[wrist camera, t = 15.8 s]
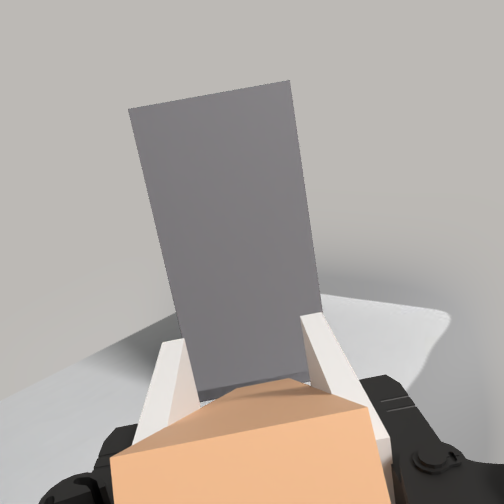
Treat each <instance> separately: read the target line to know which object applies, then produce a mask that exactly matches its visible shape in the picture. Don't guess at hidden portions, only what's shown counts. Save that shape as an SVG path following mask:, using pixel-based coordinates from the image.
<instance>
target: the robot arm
mask: <svg viewBox="0 0 504 504" xmlns="http://www.w3.org/2000/svg"><path fill="white" fill-rule="evenodd" d="M300 320H301V326H302V332H303V338H304V345H305V351H306V357H307V363H308V369H309V376H310V382H311V387H314V388H317V389H319V390H322V391H325V392H327V393H330V394H334V395H336V396H339V397H342V398H344V399H347V400H350V401H352V402H355V403H358V404H361V405H363V406H366V407H368V410H369V414H370V418H371V422H372V427H373V431H374V435H375V439H376V443H377V447H378V451H379V456H380V460H381V464H382V468H383V472H384V476H385V480H386V485H387V489H388V493H389V497H390V501H391V504H504V464H491V463H490V464H489V463H481V462H474V461H471V460H468V459H466V458H465V457H464V455H463V454H462V453H461V452H460V451H459V450H458V449H456V448H455V447H453V446H451V445H449V444H446V443H443V442H441V441H440V439H439V438H438V436H437V435H436V434H435V432H434V431H433V429H432V428H431V427H430V425H429V424H428V422H427V421H426V420H425V418H424V417H423V415H422V414H421V412H420V411H419V409H418V408H417V407H415V404H414V402H413V401H412V399H411V398H410V397H409V396H408V394H407V392H406V391H405V390H404V388H403V387H402V385H401V384H400V383H399V382H397V381H396V380H394V379H392V378H391V377H389V376H387V375H381V376H376V377H371V378H366V379H361V380H358V378H357V376H356V374H355V372H354V370H353V369H352V367H351V365H350V363H349V361H348V359H347V358H346V356H345V354H344V352H343V350H342V348H341V346H340V345H339V343H338V341H337V339H336V337H335V335H334V334H333V332H332V330H331V328H330V326H329V324H328V323H327V321H326V319H325V317H324V315H323V313H322V312H319V313H314V314H308V315H303V316H300ZM200 408H201V406H200V402H199V398H198V393H197V389H196V385H195V381H194V377H193V372H192V368H191V364H190V360H189V356H188V351H187V347H186V343H185V339H184V338H182V339H177V340H171V341H166V342H162V345H161V348H160V352H159V355H158V359H157V362H156V365H155V369H154V372H153V376H152V379H151V382H150V386H149V389H148V392H147V396H146V399H145V403H144V406H143V409H142V413H141V416H140V420H139V423H138V424H133V425H128V426H123V427H118V428H115V430H114V431H113V432H112V433H111V434H110V435H109V436H108V438H107V439H106V440H105V441H104V443H103V445H102V448H101V450H100V453H99V458H98V459H97V461H96V463H95V466H94V471H92V473H88V472H87V473H82V474H77V475H73V476H71V477H69V478H67V479H64V480H62V481H61V482H59V483H58V484H57V485H55V486H54V487H52V488H51V489H50V490H49V491H48V492H47V493H46V494H45V495H44V496H43V497H42V498H41V500H40V502H39V504H114V496H113V486H112V476H111V465H110V457H112V456H114V455H116V454H117V453H119V452H121V451H123V450H125V449H127V448H128V447H130V446H132V445H134V444H136V443H138V442H139V441H141V440H143V439H145V438H147V437H149V436H150V435H152V434H154V433H156V432H158V431H160V430H161V429H163V428H165V427H167V426H169V425H171V424H173V423H175V422H177V421H178V420H180V419H182V418H184V417H186V416H187V415H189V414H191V413H193V412H195V411H196V410H198V409H200Z"/></svg>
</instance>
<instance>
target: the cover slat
mask: <svg viewBox="0 0 504 504" xmlns="http://www.w3.org/2000/svg"><path fill="white" fill-rule="evenodd" d="M110 465H111V476H112V486H113V496H114V504H391V501H390V497H389V493H388V489H387V485H386V480H385V476H384V472H383V468H382V464H381V460H380V456H379V451H378V447H377V443H376V439H375V435H374V431H373V427H372V422H371V418H370V414H369V410H368V407H366V406H363V405H361V404H358V403H355V402H352V401H350V400H347V399H344V398H342V397H339V396H336V395H334V394H330V393H327V392H325V391H322V390H319V389H317V388H314V387H311V386H309V385H306V384H304V383H301V382H298V381H296V380H293V379H290V378H287V379H282V380H276V381H271V382H266V383H261V384H256V385H251V386H246V387H240V388H236V389H234V390H233V391H231V392H229V393H227V394H225V395H224V396H222V397H220V398H218V399H216V400H214V401H213V402H211V403H209V404H207V405H205V406H203V407H202V408H200V409H198V410H196V411H195V412H193V413H191V414H189V415H187V416H186V417H184V418H182V419H180V420H178V421H177V422H175V423H173V424H171V425H169V426H167V427H165V428H163V429H161V430H160V431H158V432H156V433H154V434H152V435H150V436H149V437H147V438H145V439H143V440H141V441H139V442H138V443H136V444H134V445H132V446H130V447H128V448H127V449H125V450H123V451H121V452H119V453H117V454H116V455H114V456H112V457H110Z"/></svg>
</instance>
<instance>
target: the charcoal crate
mask: <svg viewBox="0 0 504 504" xmlns="http://www.w3.org/2000/svg"><path fill="white" fill-rule="evenodd" d="M128 111H129V115H130V120H131V124H132V128H133V132H134V137H135V140H136V145H137V149H138V153H139V157H140V162H141V166H142V170H143V174H144V179H145V183H146V187H147V191H148V195H149V199H150V204H151V208H152V212H153V216H154V221H155V225H156V229H157V233H158V238H159V242H160V246H161V250H162V255H163V259H164V263H165V267H166V271H167V276H168V280H169V284H170V288H171V293H172V296H173V301H174V305H175V309H176V314H177V318H178V322H179V326H180V331H181V335H182V338H184V339H185V343H186V347H187V351H188V356H189V360H190V364H191V368H192V372H193V377H194V381H195V385H196V389H197V393H198V398H199V402H202V401H207V400H212V399H218V398H220V397H222V396H224V395H225V394H227V393H229V392H231V391H233V390H234V389H236V388H240V387H246V386H251V385H256V384H261V383H266V382H271V381H276V380H282V379H287V378H290V379H293V380H296V381H298V382H301V383H302V382H308V381H310V376H309V369H308V363H307V357H306V351H305V345H304V338H303V332H302V326H301V320H300V316H303V315H308V314H314V313H319V312H322V313H323V311H322V304H321V297H320V290H319V283H318V276H317V269H316V262H315V255H314V248H313V241H312V233H311V226H310V220H309V212H308V205H307V198H306V191H305V184H304V177H303V170H302V163H301V157H300V149H299V142H298V135H297V129H296V121H295V114H294V107H293V100H292V93H291V86H290V80H287V81H282V82H276V83H271V84H265V85H259V86H254V87H248V88H244V89H238V90H232V91H226V92H220V93H215V94H209V95H204V96H198V97H193V98H187V99H182V100H176V101H170V102H165V103H160V104H154V105H149V106H143V107H137V108H131V109H128Z"/></svg>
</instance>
